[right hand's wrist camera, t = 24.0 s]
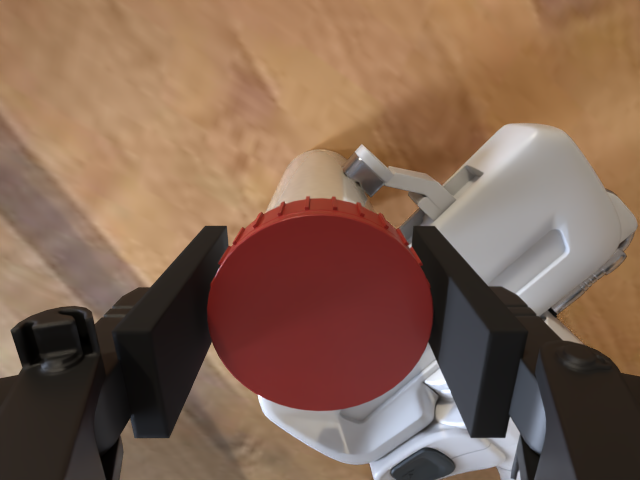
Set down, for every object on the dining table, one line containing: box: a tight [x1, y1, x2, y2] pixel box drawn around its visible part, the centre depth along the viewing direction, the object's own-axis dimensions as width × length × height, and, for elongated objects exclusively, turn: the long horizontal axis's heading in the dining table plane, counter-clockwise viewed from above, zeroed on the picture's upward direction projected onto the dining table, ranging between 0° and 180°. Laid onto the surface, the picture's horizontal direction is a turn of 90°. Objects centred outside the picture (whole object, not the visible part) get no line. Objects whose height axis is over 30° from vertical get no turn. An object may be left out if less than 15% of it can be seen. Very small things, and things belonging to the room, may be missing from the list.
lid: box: [207, 196, 434, 411], centre depth 11 cm, size 6×6×2 cm
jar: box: [265, 149, 375, 213], centre depth 18 cm, size 5×5×15 cm
